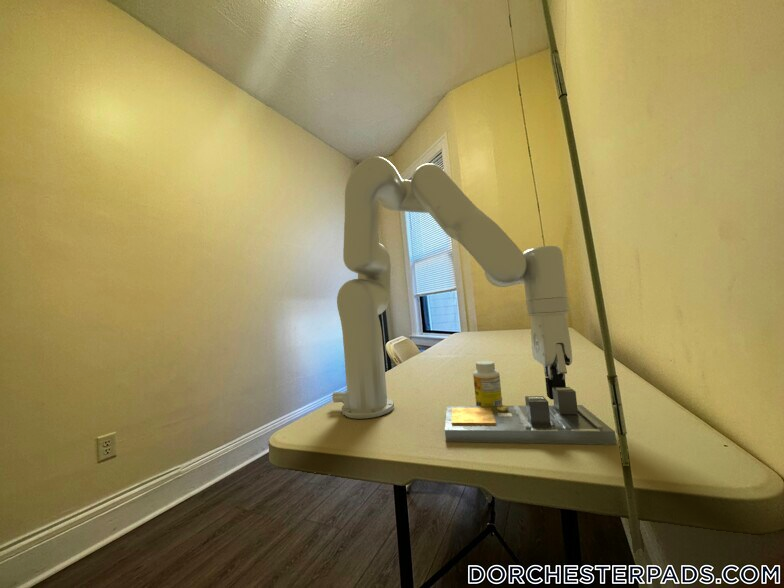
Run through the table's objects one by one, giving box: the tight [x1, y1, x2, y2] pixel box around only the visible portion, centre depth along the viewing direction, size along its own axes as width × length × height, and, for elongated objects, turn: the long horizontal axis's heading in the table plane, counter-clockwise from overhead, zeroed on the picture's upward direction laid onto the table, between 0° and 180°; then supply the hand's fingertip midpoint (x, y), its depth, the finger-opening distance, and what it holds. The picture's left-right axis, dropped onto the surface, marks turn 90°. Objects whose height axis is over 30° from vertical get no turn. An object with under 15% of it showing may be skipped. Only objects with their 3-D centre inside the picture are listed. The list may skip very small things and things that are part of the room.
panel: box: [444, 395, 617, 446], centre depth 53 cm, size 26×12×6 cm, turn 77°
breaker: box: [552, 386, 578, 414], centre depth 54 cm, size 3×3×4 cm
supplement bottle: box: [472, 360, 503, 406], centre depth 64 cm, size 6×6×10 cm
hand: (557, 398), depth 58 cm, fingers closed
